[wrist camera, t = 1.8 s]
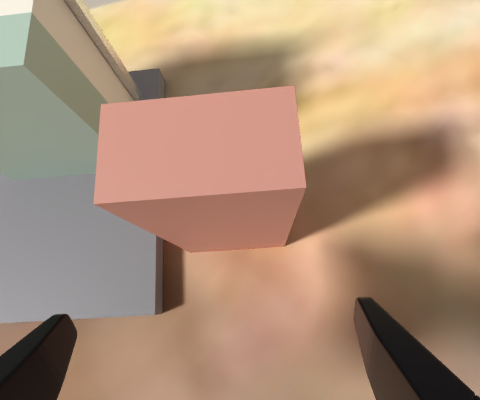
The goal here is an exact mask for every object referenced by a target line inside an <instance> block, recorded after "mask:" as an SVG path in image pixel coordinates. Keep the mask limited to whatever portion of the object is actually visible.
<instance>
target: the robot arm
mask: <svg viewBox="0 0 480 400" xmlns="http://www.w3.org/2000/svg"><path fill="white" fill-rule="evenodd" d="M354 323H355V328H356V332H357V336H358V340H359V344H360V348H361V352H362V356H363V360H364V364H365V368H366V372H367V375H368V378H369V381H370V384H371V387H372V390H373V393H374V395H375V398H376V400H480V397H479V396H477V395H476V396H475V393H474V392H473V391H472V390H471V389H470V388H469V387H468V386H467V385H465V384H464V383H463V382H462V381H461V380H460V379H459V378H458V377H457V376H456V375H455V374H454V373H452V372H451V371H450V370H449V369H448V368H447V367H446V366H445V365H444V364H443V363H442V362H441V361H439V360H438V359H437V358H436V357H435V356H434V355H433V354H432V353H431V352H430V351H429V350H428V349H426V348H425V347H424V346H423V345H422V344H421V343H420V342H419V341H418V340H417V339H416V338H415V337H413V336H412V335H411V334H410V333H409V332H408V331H407V330H406V329H405V328H404V327H403V326H401V325H400V324H399V323H398V322H397V321H396V320H395V319H394V318H393V317H392V316H391V315H390V314H388V313H387V312H386V311H385V310H384V309H383V308H382V307H381V306H380V305H379V304H378V303H377V302H375V301H374V300H373V299H372V298H370V297H359V298H357V299H356V301H355V310H354ZM76 339H77V330H76V328H75V326H74V324H73V322H72V320H71V318H70V316H69V315H68V314H55V315H52V316H51V317H50V318H48V319H47V320H46V321H44V322H43V323H42V324H41V325H39V326H38V327H37V328H36V329H34V330H33V331H32V332H30V333H29V334H28V335H27V336H25V337H24V338H23V339H21V340H20V341H19V342H18V343H16V344H15V345H14V346H13V347H11V348H10V349H9V350H7V351H6V352H5V353H4V354H2V355H1V356H0V400H57V398H58V395H59V393H60V390H61V387H62V384H63V382H64V379H65V375H66V372H67V369H68V365H69V362H70V359H71V355H72V352H73V349H74V346H75V342H76Z"/></svg>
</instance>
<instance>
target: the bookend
mask: <svg viewBox="0 0 480 400" xmlns="http://www.w3.org/2000/svg"><path fill="white" fill-rule="evenodd" d="M64 1H65V3H66V4H67V6H68V7H69V9H70V10H71V11H72V13H73V14H74V16H75V17H76V19H77V20H78V21H79V23H80V24H81V26H82V27H83V29H84V30H85V31H86V33H87V34H88V36H89V37H90V39H91V40H92V41H93V43H94V44H95V46H96V47H97V49H98V50H99V51H100V53H101V54H102V56H103V57H104V59H105V60H106V61H107V63H108V64H109V66H110V67H111V69H112V70H113V71H114V73H115V74H116V76H117V77H118V78H119V80H120V81H121V83H122V84H123V86H124V87H125V88H126V90H127V91H128V93H129V94H130V96H131V97H132V98H133V100H134V101H140V100H146V99H145V98H144V96H143V94H142V93H141V91H140V90H139V88H138V87H137V85H136V83H135V82H134V80H133V79H132V77H131V76H130V74H129V72H128V71H127V69H126V68H125V66H124V65H123V63H122V61H121V60H120V58H119V57H118V55H117V54H116V52H115V50H114V49H113V47H112V46H111V44H110V43H109V41H108V39H107V38H106V36H105V35H104V33H103V32H102V30H101V28H100V27H99V25H98V24H97V22H96V21H95V19H94V17H93V16H92V14H91V13H90V11H89V10H88V8H87V7H86V5H85V3H84V2H83V0H64Z"/></svg>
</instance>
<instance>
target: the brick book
mask: <svg viewBox="0 0 480 400" xmlns="http://www.w3.org/2000/svg"><path fill="white" fill-rule="evenodd" d="M305 190H306V180H305V171H304V163H303V154H302V146H301V137H300V129H299V120H298V112H297V103H296V95H295V86H294V85H293V86H283V87H273V88H262V89H252V90H242V91H232V92H222V93H211V94H201V95H191V96H181V97H170V98H160V99H150V100H140V101H129V102H119V103H109V104H101V108H100V122H99V136H98V149H97V163H96V177H95V191H94V205H96V206H98V207H100V208H102V209H104V210H106V211H108V212H110V213H112V214H114V215H116V216H118V217H120V218H122V219H124V220H126V221H128V222H130V223H132V224H134V225H136V226H138V227H140V228H142V229H144V230H146V231H148V232H150V233H152V234H154V235H156V236H158V237H160V238H162V239H164V240H166V241H168V242H170V243H172V244H174V245H176V246H178V247H180V248H182V249H184V250H186V251H188V252H190V253H192V252H207V251H222V250H237V249H253V248H268V247H283V246H285V244H286V241H287V238H288V236H289V233H290V230H291V228H292V225H293V222H294V220H295V217H296V214H297V212H298V209H299V206H300V204H301V201H302V198H303V196H304V193H305Z"/></svg>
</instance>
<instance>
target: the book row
mask: <svg viewBox="0 0 480 400" xmlns="http://www.w3.org/2000/svg"><path fill="white" fill-rule="evenodd" d="M129 101H134V100H133V98H132V97H131V96H130V94H129V93H128V91H127V90H126V88H125V87H124V86H123V84H122V83H121V81H120V80H119V78H118V77H117V76H116V74H115V73H114V71H113V70H112V69H111V67H110V66H109V64H108V63H107V61H106V60H105V59H104V57H103V56H102V54H101V53H100V51H99V50H98V49H97V47H96V46H95V44H94V43H93V41H92V40H91V39H90V37H89V36H88V34H87V33H86V31H85V30H84V29H83V27H82V26H81V24H80V23H79V21H78V20H77V19H76V17H75V16H74V14H73V13H72V11H71V10H70V9H69V7H68V6H67V4H66V3H65V1H64V0H0V173H1V174H3V175H5V176H7V177H10V178H12V179H14V180H21V179H33V178H45V177H57V176H69V175H81V174H93V173H96V163H97V149H98V136H99V122H100V108H101V104H109V103H119V102H129Z"/></svg>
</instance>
